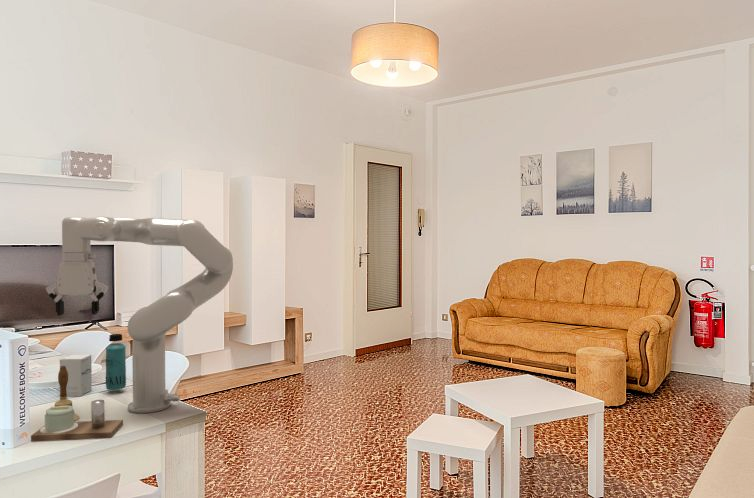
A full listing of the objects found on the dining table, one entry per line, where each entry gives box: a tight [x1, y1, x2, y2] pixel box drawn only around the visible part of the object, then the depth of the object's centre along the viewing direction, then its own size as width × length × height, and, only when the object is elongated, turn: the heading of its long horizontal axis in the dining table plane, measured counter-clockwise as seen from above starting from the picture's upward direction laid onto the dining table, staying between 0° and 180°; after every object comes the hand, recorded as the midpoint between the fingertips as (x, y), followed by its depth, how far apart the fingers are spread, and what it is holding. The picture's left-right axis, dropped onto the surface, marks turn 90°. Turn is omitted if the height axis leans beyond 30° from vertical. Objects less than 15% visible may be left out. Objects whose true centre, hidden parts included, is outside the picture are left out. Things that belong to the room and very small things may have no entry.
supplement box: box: [59, 354, 93, 397], centre depth 190 cm, size 7×7×13 cm
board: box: [30, 419, 124, 442], centre depth 153 cm, size 20×10×2 cm, turn 97°
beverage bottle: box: [105, 333, 127, 391], centre depth 192 cm, size 6×7×20 cm
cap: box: [44, 405, 75, 432], centre depth 152 cm, size 6×6×6 cm
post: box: [90, 399, 105, 429], centre depth 153 cm, size 3×3×7 cm
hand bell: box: [53, 366, 80, 422], centre depth 163 cm, size 8×8×16 cm
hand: (77, 314), depth 169 cm, fingers open, 9 cm apart
